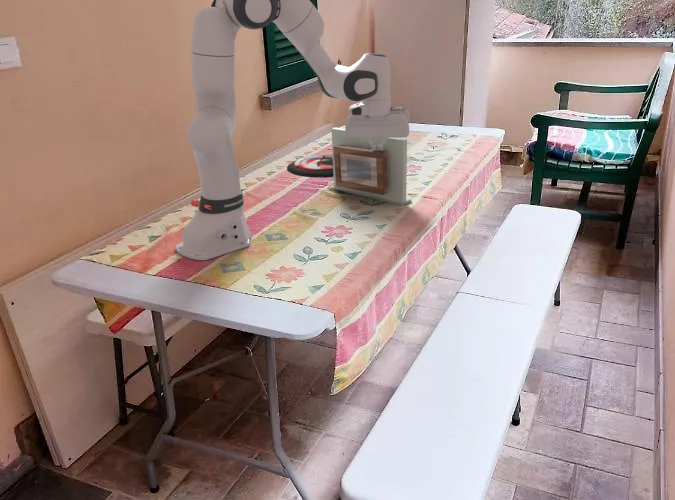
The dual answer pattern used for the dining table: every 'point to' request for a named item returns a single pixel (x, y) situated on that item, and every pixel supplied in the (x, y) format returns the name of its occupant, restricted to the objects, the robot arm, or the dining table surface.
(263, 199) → the dining table surface
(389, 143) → the wall panel
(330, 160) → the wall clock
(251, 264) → the dining table surface
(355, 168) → the wooden picture frame
